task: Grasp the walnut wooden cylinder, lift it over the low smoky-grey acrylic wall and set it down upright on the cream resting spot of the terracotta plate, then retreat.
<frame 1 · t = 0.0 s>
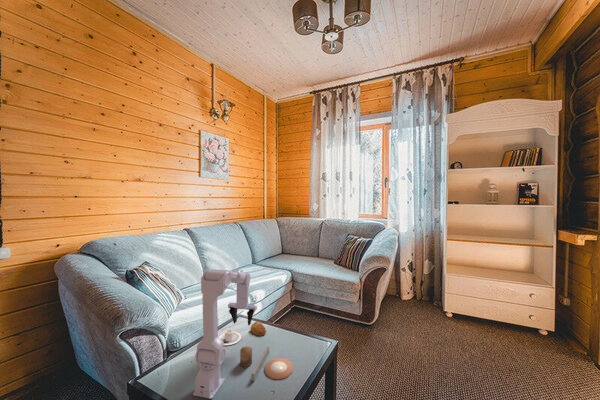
hand: (242, 323, 122), 10 cm above the table, tool pointing down, fingers open, 7 cm apart
walnut cylinder: (246, 363, 108), on the table
pastry: (258, 331, 133), on the table
candle holder: (229, 339, 126), on the table
resting plate: (278, 368, 105), on the table
acrylic wall: (261, 365, 106), on the table
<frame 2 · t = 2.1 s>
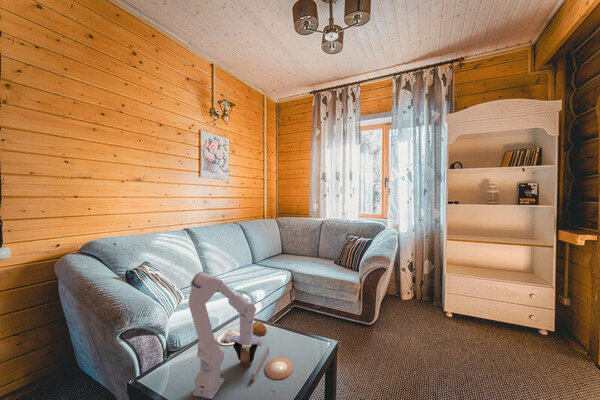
hand: (246, 359, 108), 2 cm above the table, tool pointing down, fingers closed on walnut cylinder, 5 cm apart
walnut cylinder: (246, 363, 108), on the table, touching gripper
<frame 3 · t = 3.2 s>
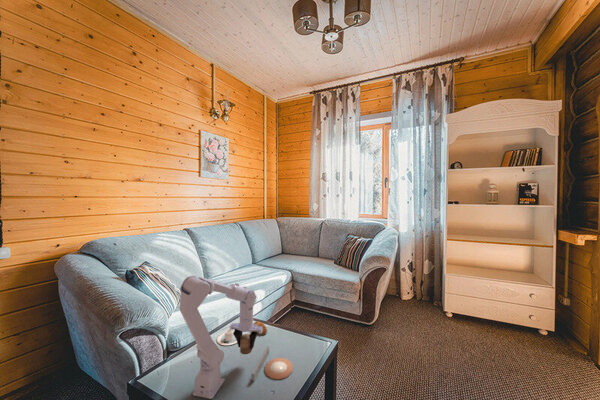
hand: (246, 346, 108), 7 cm above the table, tool pointing down, fingers closed on walnut cylinder, 5 cm apart
walnut cylinder: (246, 350, 108), point 6 cm above the table, touching gripper
everything else where it was.
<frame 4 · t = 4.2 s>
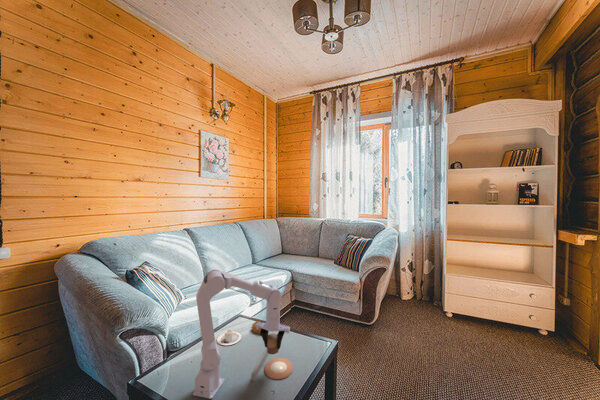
hand: (272, 346, 105), 9 cm above the table, tool pointing down, fingers closed on walnut cylinder, 5 cm apart
walnut cylinder: (272, 350, 105), point 7 cm above the table, touching gripper
everything else where it was.
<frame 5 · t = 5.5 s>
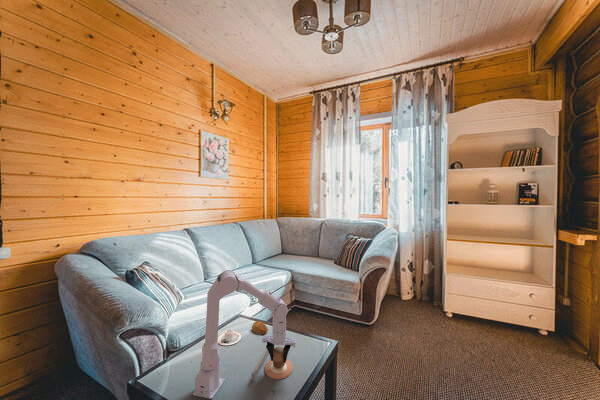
hand: (278, 360, 105), 4 cm above the table, tool pointing down, fingers closed on walnut cylinder, 5 cm apart
walnut cylinder: (278, 364, 105), point 2 cm above the table, touching gripper
when the fingers open (4 cm above the table, at t = 6.4 s): walnut cylinder drops 1 cm, resting on resting plate.
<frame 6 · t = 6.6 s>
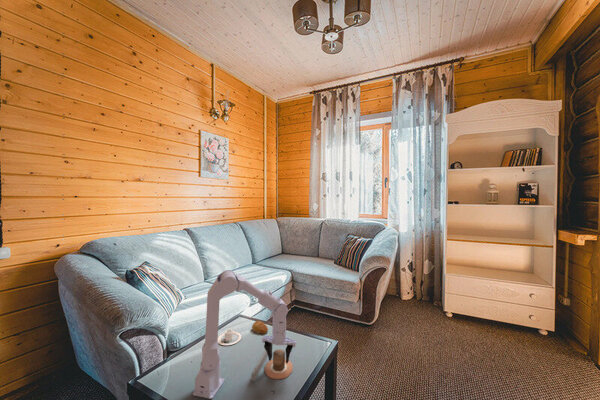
hand: (278, 360, 105), 4 cm above the table, tool pointing down, fingers open, 7 cm apart
walnut cylinder: (278, 367, 105), point 1 cm above the table, touching resting plate
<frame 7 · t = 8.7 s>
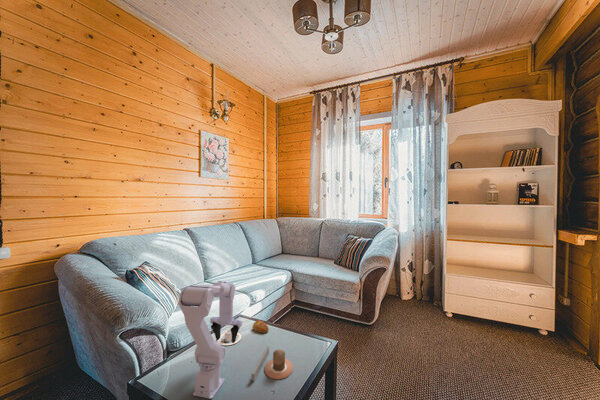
hand: (225, 340, 109), 9 cm above the table, tool pointing down, fingers open, 7 cm apart
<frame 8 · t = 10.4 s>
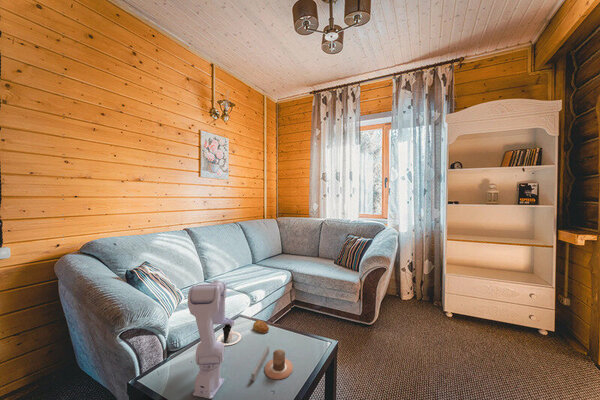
hand: (218, 339, 109), 9 cm above the table, tool pointing down, fingers open, 7 cm apart
at the end: walnut cylinder inside the target area on the resting plate (0.1 cm from its centre), point 0.7 cm above the resting plate's base; walnut cylinder tilted 0°; the gripper is holding nothing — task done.
